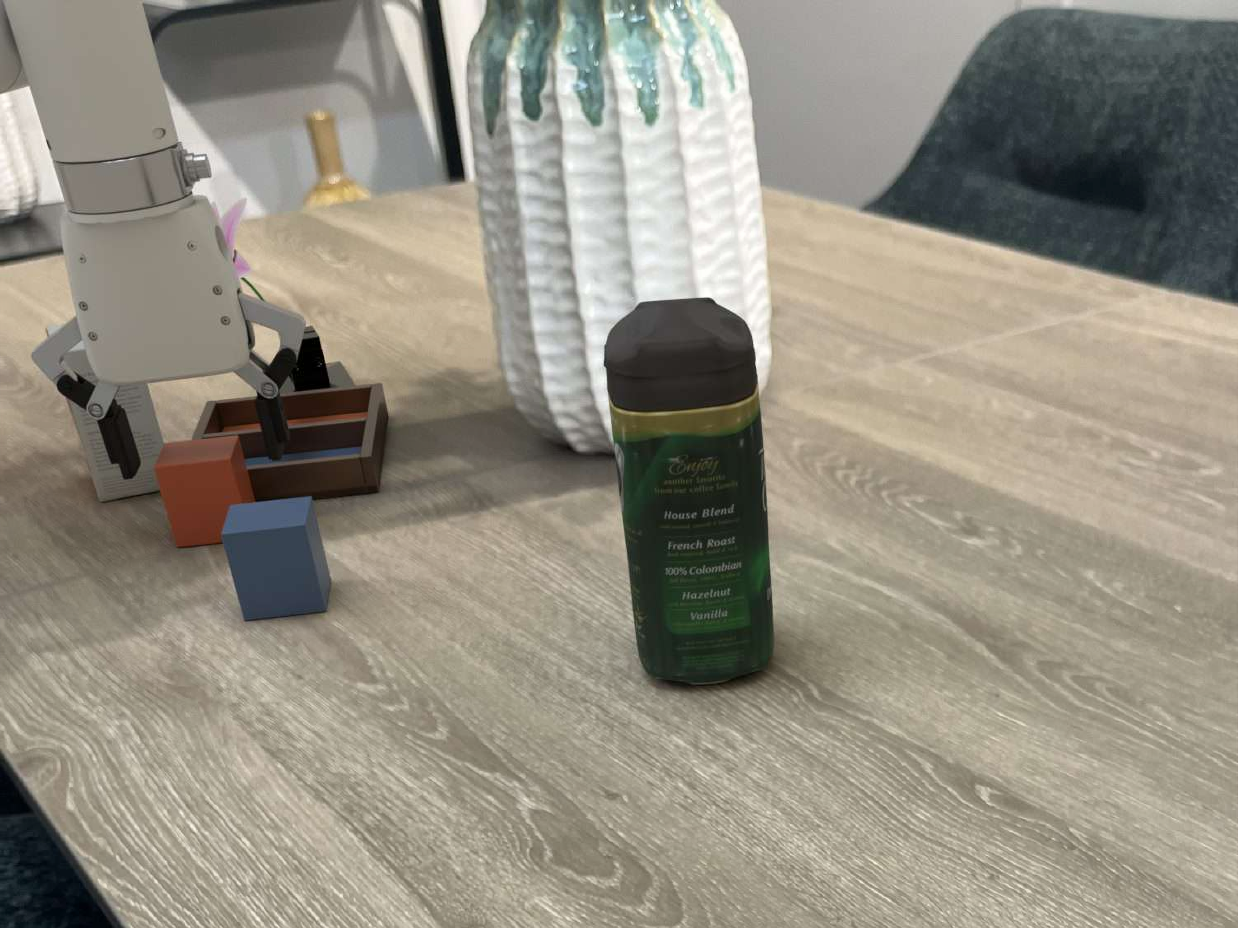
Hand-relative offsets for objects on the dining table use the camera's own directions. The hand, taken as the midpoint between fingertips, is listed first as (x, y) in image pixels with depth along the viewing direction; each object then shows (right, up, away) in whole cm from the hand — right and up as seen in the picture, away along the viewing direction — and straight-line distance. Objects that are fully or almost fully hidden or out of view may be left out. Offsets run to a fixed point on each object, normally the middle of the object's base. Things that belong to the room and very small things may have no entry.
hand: (205, 463), depth 115 cm
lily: (-14, +31, +49) cm, 60 cm away
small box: (-10, +3, +13) cm, 16 cm away
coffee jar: (+35, -17, -17) cm, 42 cm away
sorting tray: (+2, +5, +13) cm, 14 cm away
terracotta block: (0, -4, +3) cm, 5 cm away
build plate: (-1, +15, +28) cm, 32 cm away
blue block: (+8, -11, -8) cm, 16 cm away
